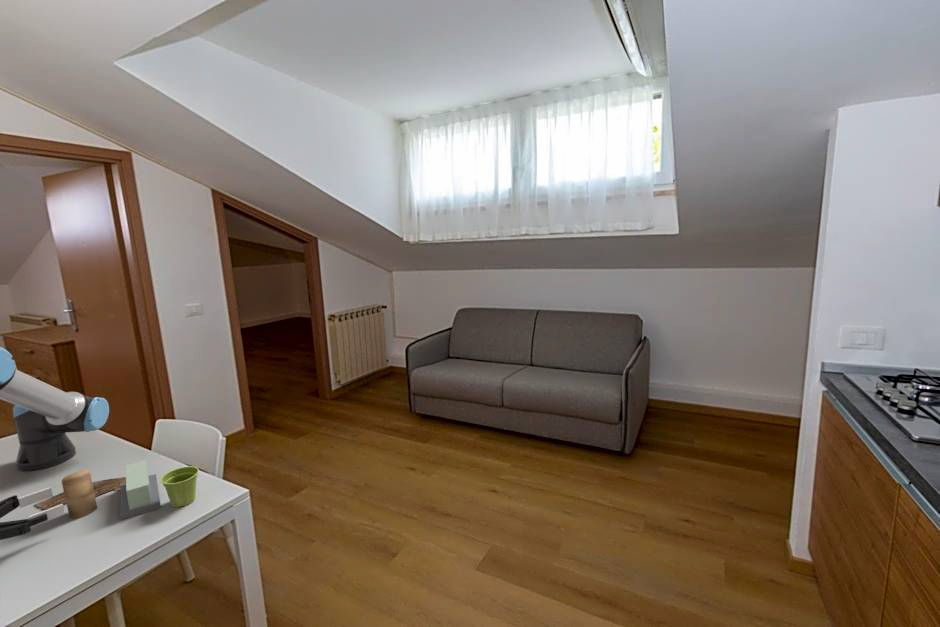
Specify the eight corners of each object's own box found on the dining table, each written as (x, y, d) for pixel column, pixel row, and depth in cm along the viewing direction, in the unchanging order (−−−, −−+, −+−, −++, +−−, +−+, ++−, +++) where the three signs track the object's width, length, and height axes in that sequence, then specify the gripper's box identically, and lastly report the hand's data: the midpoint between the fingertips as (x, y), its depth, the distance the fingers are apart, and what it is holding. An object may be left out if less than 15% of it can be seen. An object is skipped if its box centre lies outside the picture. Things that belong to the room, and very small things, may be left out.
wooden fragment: (30, 516, 121) (29, 513, 121) (37, 498, 130) (36, 495, 130) (143, 484, 137) (143, 481, 137) (143, 470, 145) (143, 467, 145)
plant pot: (209, 495, 130) (206, 469, 128) (179, 514, 121) (175, 486, 120) (187, 489, 133) (183, 464, 131) (156, 507, 124) (152, 480, 123)
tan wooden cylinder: (69, 510, 123) (62, 476, 121) (97, 502, 127) (90, 468, 125) (68, 521, 119) (60, 485, 117) (96, 512, 122) (89, 477, 120)
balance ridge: (121, 488, 134) (117, 466, 133) (156, 478, 140) (153, 456, 138) (121, 519, 119) (117, 495, 118) (160, 507, 124) (157, 483, 123)
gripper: (-65, 537, 109) (49, 496, 126) (-57, 582, 94) (71, 529, 111) (-72, 510, 108) (45, 473, 124) (-65, 552, 93) (66, 503, 110)
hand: (57, 499), depth 118 cm, fingers open, 13 cm apart
